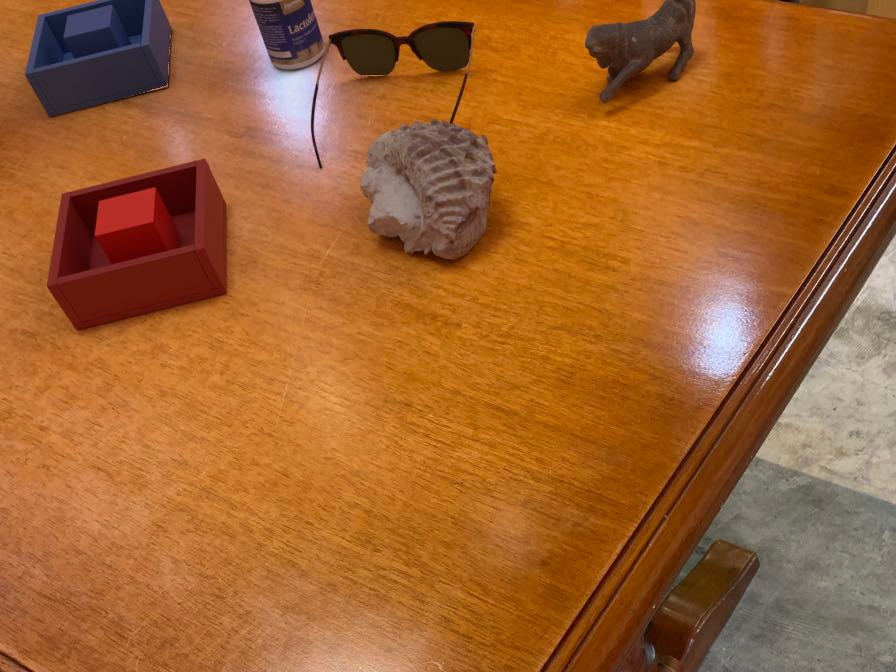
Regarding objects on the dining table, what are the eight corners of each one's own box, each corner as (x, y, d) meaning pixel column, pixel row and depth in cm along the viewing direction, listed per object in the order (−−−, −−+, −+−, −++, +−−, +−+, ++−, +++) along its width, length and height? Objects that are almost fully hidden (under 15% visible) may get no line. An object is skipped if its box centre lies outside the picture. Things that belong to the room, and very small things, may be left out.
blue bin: (48, 117, 105) (24, 74, 101) (60, 56, 112) (38, 14, 109) (168, 87, 105) (148, 44, 101) (172, 28, 112) (153, -14, 109)
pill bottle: (311, 73, 102) (276, -30, 94) (262, 71, 104) (223, -31, 96) (335, 42, 105) (303, -60, 97) (287, 40, 107) (252, -60, 99)
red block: (122, 283, 85) (94, 235, 81) (126, 248, 88) (98, 200, 84) (178, 269, 85) (153, 221, 81) (180, 235, 88) (155, 186, 84)
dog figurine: (673, 39, 96) (669, -44, 90) (713, 61, 93) (712, -23, 87) (569, 93, 93) (558, 12, 87) (607, 118, 90) (598, 35, 84)
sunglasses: (485, 67, 98) (474, 18, 94) (463, 172, 91) (450, 124, 86) (342, 78, 101) (326, 31, 97) (309, 181, 93) (289, 134, 89)
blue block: (86, 82, 107) (63, 37, 103) (90, 60, 110) (67, 15, 106) (131, 71, 107) (109, 26, 103) (134, 49, 110) (112, 4, 106)
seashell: (327, 173, 86) (362, 62, 80) (421, 181, 92) (462, 78, 85) (398, 289, 80) (443, 179, 73) (495, 290, 86) (545, 189, 79)
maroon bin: (76, 330, 83) (46, 286, 80) (88, 237, 91) (61, 193, 87) (226, 293, 83) (203, 247, 80) (226, 203, 91) (205, 157, 87)
